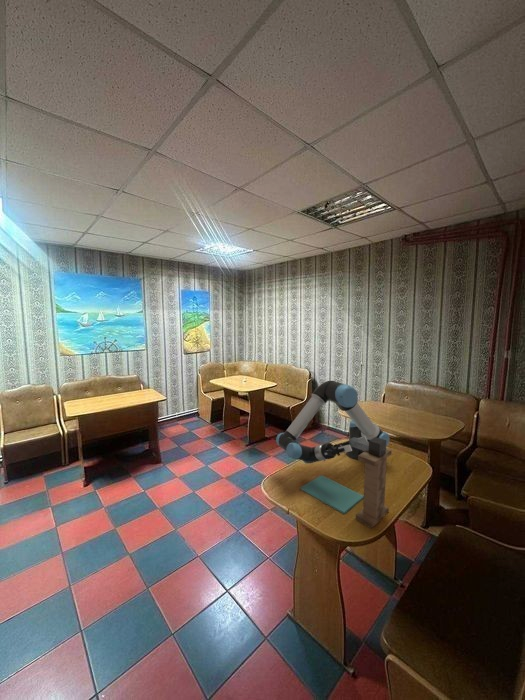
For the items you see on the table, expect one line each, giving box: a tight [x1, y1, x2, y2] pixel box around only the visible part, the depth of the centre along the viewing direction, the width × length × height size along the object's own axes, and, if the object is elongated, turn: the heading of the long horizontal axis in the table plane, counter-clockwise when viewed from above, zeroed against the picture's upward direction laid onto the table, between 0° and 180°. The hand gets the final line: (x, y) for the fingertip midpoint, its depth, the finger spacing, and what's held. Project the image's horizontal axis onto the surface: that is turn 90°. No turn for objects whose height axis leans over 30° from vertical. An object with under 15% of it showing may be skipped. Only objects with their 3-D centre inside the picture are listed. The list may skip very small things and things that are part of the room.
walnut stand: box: [355, 447, 393, 529], centre depth 129 cm, size 16×8×30 cm, turn 132°
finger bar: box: [348, 437, 387, 458], centre depth 130 cm, size 6×15×6 cm, turn 42°
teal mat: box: [300, 474, 364, 515], centre depth 147 cm, size 18×26×1 cm
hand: (358, 443), depth 132 cm, fingers open, 13 cm apart
